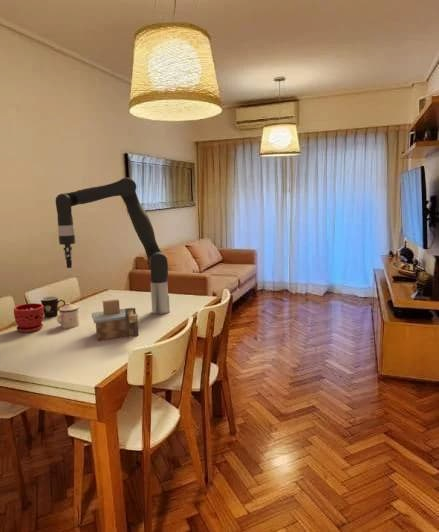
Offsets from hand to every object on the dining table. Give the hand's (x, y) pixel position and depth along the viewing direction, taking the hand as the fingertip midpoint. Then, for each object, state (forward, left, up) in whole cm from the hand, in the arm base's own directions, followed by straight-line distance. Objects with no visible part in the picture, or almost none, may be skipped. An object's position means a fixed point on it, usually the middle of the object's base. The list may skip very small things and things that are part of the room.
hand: (69, 266), depth 196 cm
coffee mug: (+11, -16, -30) cm, 35 cm away
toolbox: (-19, +28, -29) cm, 45 cm away
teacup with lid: (+3, +6, -30) cm, 30 cm away
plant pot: (+20, +4, -30) cm, 36 cm away
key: (-25, +37, -20) cm, 49 cm away
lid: (-18, +26, -21) cm, 38 cm away
